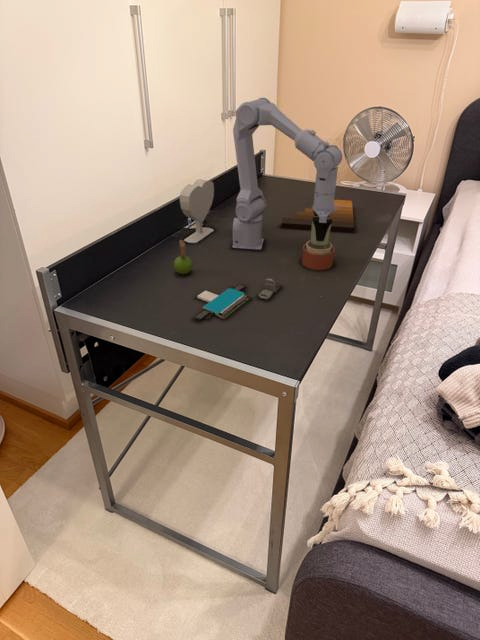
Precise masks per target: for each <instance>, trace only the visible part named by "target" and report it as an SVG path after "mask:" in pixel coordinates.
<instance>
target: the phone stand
mask: <svg viewBox="0 0 480 640" xmlns="http://www.w3.org/2000/svg"><path fill="white" fill-rule="evenodd" d="M244 288H245V285H242V284H238V285H237V286H236V287H234V288H232V287H229V288H226V289H225V291H222V292H221V293H220V294H216V293H213V292H211V291H208V290H204V291H202V292H201V293H200V294H198V295H197V296H196V298H197V299H199V300H201V301H203V302H206V304H205V305H203V306H202V309H204V310H203V311H201V312H200V313H198V315H196V316H195V320H197V321H202V320H204V319H205V320H209V319H210V318H211V317H213V316H216V317H218V318H221V319H224V320H225V319H227V318H228V317H229V316H230V315H232V314H233V313H234V312H235V311H236V310H238V309H239V308H240V307H241V306H243V305H244V304H245V303H247V302H248V301H250V298H249V297H247V294H246V293H245V291H244V290H243V289H244Z"/></svg>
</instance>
